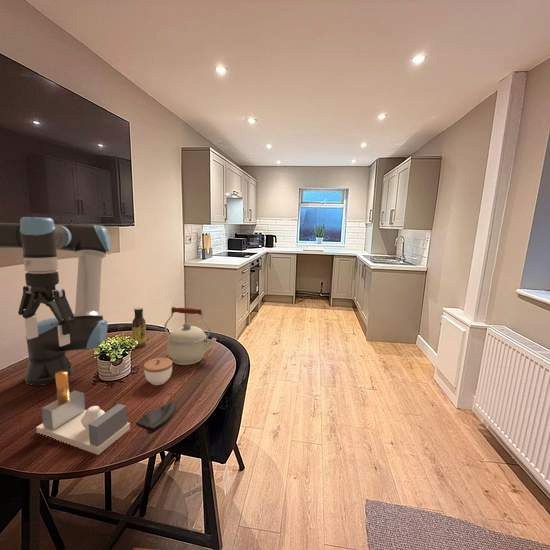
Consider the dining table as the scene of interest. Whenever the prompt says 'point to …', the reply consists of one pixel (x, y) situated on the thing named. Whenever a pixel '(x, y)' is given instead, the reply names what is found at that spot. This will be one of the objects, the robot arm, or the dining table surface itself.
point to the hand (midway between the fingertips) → (48, 341)
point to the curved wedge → (157, 416)
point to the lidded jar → (158, 370)
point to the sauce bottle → (139, 327)
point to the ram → (63, 403)
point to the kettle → (187, 340)
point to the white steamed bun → (91, 415)
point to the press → (91, 430)
